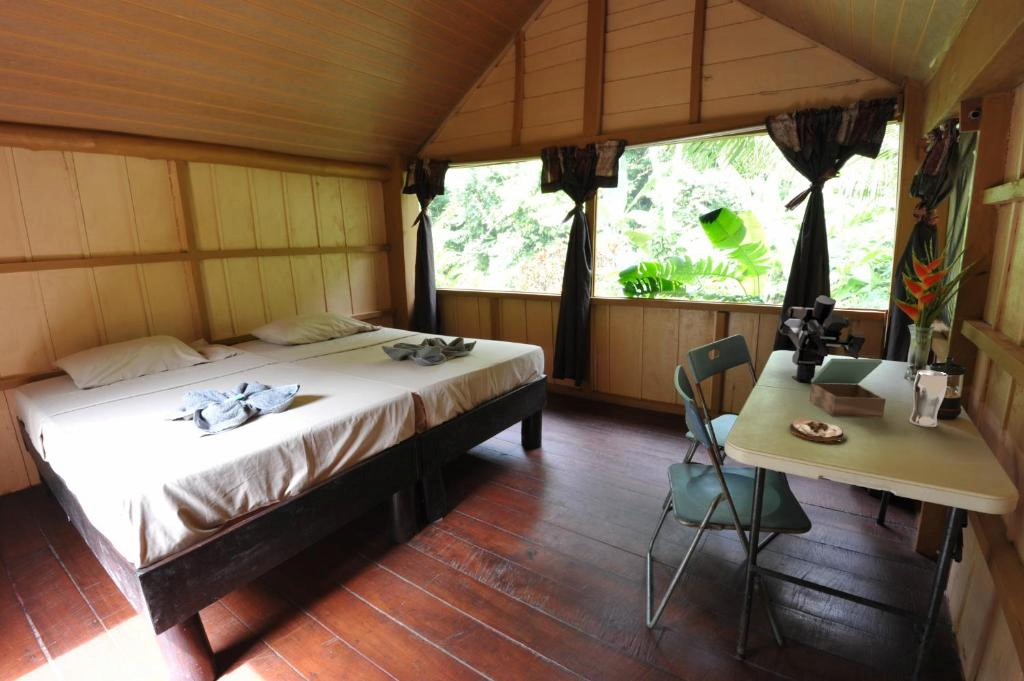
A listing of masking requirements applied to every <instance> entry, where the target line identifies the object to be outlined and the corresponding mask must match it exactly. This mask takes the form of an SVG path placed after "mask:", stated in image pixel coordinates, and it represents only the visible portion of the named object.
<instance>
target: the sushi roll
mask: <svg viewBox="0 0 1024 681" xmlns="http://www.w3.org/2000/svg"><path fill="white" fill-rule="evenodd" d="M789 426H790V427H789V431H790V430H791V431H792V432H793V433H795V434H797V435H799V436H801V437H800V438H802V437H804V438H807V439H806V440H807V441H812V440H817V441H816V442H818V441H826V442H835V441H838V440H842V441H843V436H844V431H843V429H842V428H841V427H839V426H838V425H835V424H832V423H829V422H824V421H821V420H816V419H811V418H799V419H795V420H794V421H793V422H792V423H790V425H789ZM791 431H790V432H791ZM792 432H791V433H792ZM793 433H792V434H793ZM795 434H794V435H795ZM799 436H798V437H799ZM804 438H803V439H804ZM809 439H810V440H809ZM826 442H825V443H826ZM835 443H836V442H835Z"/></svg>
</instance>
